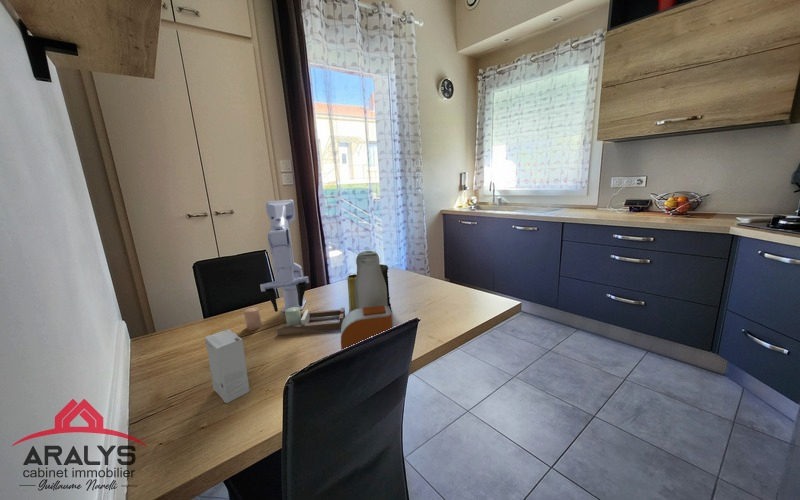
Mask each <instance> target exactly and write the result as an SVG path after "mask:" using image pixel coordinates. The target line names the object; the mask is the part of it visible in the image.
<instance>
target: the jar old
mask: <svg viewBox="0 0 800 500" xmlns="http://www.w3.org/2000/svg"><path fill="white" fill-rule="evenodd" d="M300 313H301V310H300V308H299V307H291V308H288V309H286V310H285V311H284V315H286V322H285V323H286V326H295V325H302V324H301V314H300Z"/></svg>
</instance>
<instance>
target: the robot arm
mask: <svg viewBox="0 0 800 500" xmlns="http://www.w3.org/2000/svg"><path fill="white" fill-rule="evenodd" d="M265 208H266V209H265V210H266V214H267V217H268V219H269V221H270V230H269V232H267V236H266V237H267V243H268V248H269V251H270V255H271V260H272V265H273V266H272V267H273V274H274V281H271V282H266V283H261V284H260V285H259V286H260V291H261V292H265V294H266V295H267V297H268V299H269V300H270V302H271V304H272V306H273V310H274V312H275V313H277V312H279V310H278V304H277V297H276V292H275V290H276V289H281V291H282V295H283V303H284V307H282V309H281V310H282V312H283V313H285V310H286V309H288V308H291V307H299V308H300V311H302V310H304V307H305V306H306V303H307V299H305V297H304V295H305V292H306V290H307V287H308V285H307V284H309V283H310V280H309V276H304V274H303V267H302V266H301V265H300V264H298V263H296V262H295V259H294V258H295V257H294V252H293V250H294V249H293V244H292V234H291V223H292V222H294V221H295V220H296V211H295V203H294V200H293V199H283V200H281V199H280V200H267V201H266V203H265Z"/></svg>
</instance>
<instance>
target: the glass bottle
mask: <svg viewBox="0 0 800 500" xmlns="http://www.w3.org/2000/svg"><path fill="white" fill-rule="evenodd" d="M380 263H381V261H380V257H379V254H378V252H376V251H374V250H364V251H362V252H359V253H358V254H357V256H356V258H355V264H356V273H355V274H356V280H355V288H354V290H355V300H356V308H362V307H371V306H380V305H387V288H386V283H385V280H384V277H383V275H382V272H381V268H380Z"/></svg>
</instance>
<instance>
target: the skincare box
mask: <svg viewBox="0 0 800 500" xmlns="http://www.w3.org/2000/svg"><path fill="white" fill-rule="evenodd" d="M204 339H205V343H206V344H205V345H206V350H207V351H206V352H207V358H208V363H209V364H208V365H209V369H210V376H211V382H212V388H213V391H214V392H216V393H217V394H218V395H219V397H220V398H221V399H222V400H223V402H224V403H225V404H228V403H230V402H232V401H234V400H235V399H238V398H240V397H242V396H245V394H247V393H249V392H250V385H249V375H248V371H247V364H246V363H247V362H246V356H245V348H244V342H243V338H241V337H240V336H238V335H237V333H236V332H233V331H232V330H231V329H230V328H228V329H225V330H221V331H218V332H216V333H214V334H209V335H207V336H204Z"/></svg>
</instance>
